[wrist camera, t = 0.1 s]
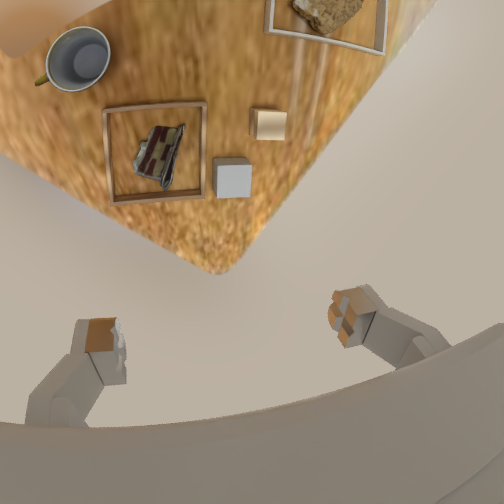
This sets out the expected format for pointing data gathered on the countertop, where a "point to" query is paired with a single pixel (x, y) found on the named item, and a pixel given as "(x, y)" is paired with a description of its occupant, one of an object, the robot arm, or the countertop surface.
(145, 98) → the countertop surface
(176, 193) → the oak cake frame
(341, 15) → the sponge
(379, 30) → the grey square frame
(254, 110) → the maple block
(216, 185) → the slate block
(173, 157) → the chocolate cake
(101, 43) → the ceramic cup
